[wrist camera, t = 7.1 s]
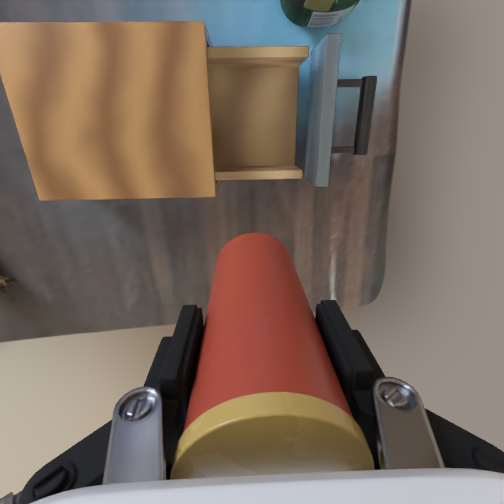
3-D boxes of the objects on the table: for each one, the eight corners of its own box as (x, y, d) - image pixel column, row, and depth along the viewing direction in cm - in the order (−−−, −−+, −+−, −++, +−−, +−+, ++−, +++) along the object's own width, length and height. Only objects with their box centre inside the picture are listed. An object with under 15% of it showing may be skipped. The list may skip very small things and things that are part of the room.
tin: (211, 231, 17) (154, 419, 6) (295, 229, 17) (392, 409, 6) (217, 303, 19) (182, 544, 8) (292, 300, 19) (361, 535, 8)
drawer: (366, 50, 29) (395, 32, 24) (351, 176, 34) (372, 185, 29) (169, 52, 29) (152, 34, 23) (182, 180, 34) (171, 189, 28)
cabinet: (213, 47, 29) (204, 21, 22) (221, 183, 35) (215, 197, 28) (47, 49, 29) (-16, 22, 22) (81, 186, 34) (39, 200, 27)
